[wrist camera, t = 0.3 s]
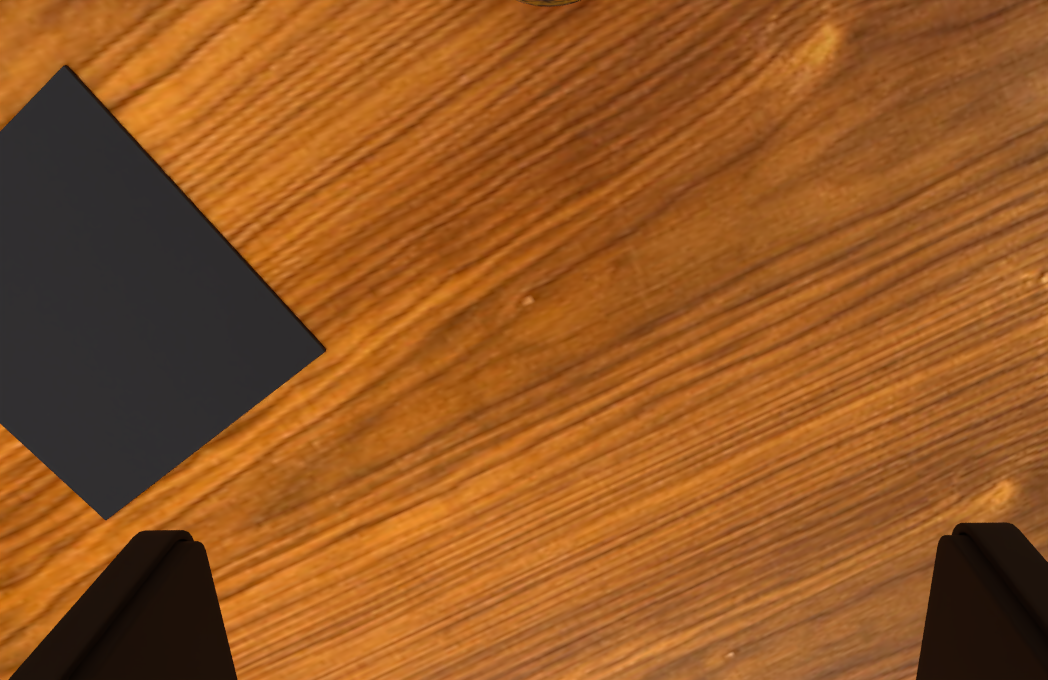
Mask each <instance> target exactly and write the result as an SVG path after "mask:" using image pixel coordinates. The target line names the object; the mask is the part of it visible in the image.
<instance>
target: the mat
mask: <svg viewBox="0 0 1048 680" xmlns="http://www.w3.org/2000/svg"><path fill="white" fill-rule="evenodd" d="M325 351H326V349H325V348H324V347H323V346H322V344H321V343H320V342H319V341H318V340H317V339H316V338H315V337H314V336H313V335H312V334H311V332H310V331H309V330H308V329H307V328H306V327H305V326H304V325H303V324H302V323H301V321H300V320H299V319H298V318H297V317H296V316H295V315H294V314H293V313H292V312H291V311H290V309H289V308H288V307H287V306H286V305H285V304H284V303H283V302H282V301H281V300H280V298H279V297H278V296H277V295H276V294H275V293H274V292H273V291H272V290H271V289H270V288H269V286H268V285H267V284H266V283H265V282H264V281H263V280H262V279H261V278H260V277H259V275H258V274H257V273H256V272H255V271H254V270H253V269H252V268H251V267H250V266H249V265H248V263H247V262H246V261H245V260H244V259H243V258H242V257H241V256H240V255H239V254H238V252H237V251H236V250H235V249H234V248H233V247H232V246H231V245H230V244H229V243H228V242H227V240H226V239H225V238H224V237H223V236H222V235H221V234H220V233H219V232H218V231H217V229H216V228H215V227H214V226H213V225H212V224H211V223H210V222H209V221H208V220H207V219H206V217H205V216H204V215H203V214H202V213H201V212H200V211H199V210H198V209H197V208H196V206H195V205H194V204H193V203H192V202H191V201H190V200H189V199H188V198H187V197H186V195H185V194H184V193H183V192H182V191H181V190H180V189H179V188H178V187H177V186H176V185H175V183H174V182H173V181H172V180H171V179H170V178H169V177H168V176H167V175H166V174H165V172H164V171H163V170H162V169H161V168H160V167H159V166H158V165H157V164H156V163H155V162H154V160H153V159H152V158H151V157H150V156H149V155H148V154H147V153H146V152H145V151H144V149H143V148H142V147H141V146H140V145H139V144H138V143H137V142H136V141H135V140H134V139H133V137H132V136H131V135H130V134H129V133H128V132H127V131H126V130H125V129H124V128H123V126H122V125H121V124H120V123H119V122H118V121H117V120H116V119H115V118H114V117H113V116H112V114H111V113H110V112H109V111H108V110H107V109H106V108H105V107H104V106H103V105H102V103H101V102H100V101H99V100H98V99H97V98H96V97H95V96H94V95H93V94H92V93H91V91H90V90H89V89H88V88H87V87H86V86H85V85H84V84H83V83H82V82H81V80H80V79H79V78H78V77H77V76H76V75H75V74H74V73H73V72H72V71H71V70H70V68H69V67H68V66H67V65H65V66H63V67H62V68H61V69H60V70H59V71H58V72H57V73H56V74H55V75H54V76H53V77H52V78H51V79H50V80H49V81H48V82H47V83H46V85H45V86H44V87H43V88H42V89H41V90H40V91H39V92H38V93H37V94H36V95H35V96H34V97H33V98H32V99H31V100H30V101H29V102H28V103H27V104H26V105H25V106H24V107H23V108H22V110H21V111H20V112H19V113H18V114H17V115H16V116H15V117H14V118H13V119H12V120H11V121H10V122H9V123H8V124H7V125H6V126H5V127H4V128H3V129H2V130H1V131H0V424H1V425H3V426H4V427H5V428H6V429H7V430H8V431H9V432H10V433H11V434H12V435H13V436H15V437H16V438H17V439H18V440H19V441H20V442H21V443H22V444H23V445H24V446H25V447H26V448H28V449H29V450H30V451H31V452H32V453H33V454H34V455H35V456H36V457H37V458H38V459H40V460H41V461H42V462H43V463H44V464H45V465H46V466H47V467H48V468H49V469H50V470H51V471H53V472H54V473H55V474H56V475H57V476H58V477H59V478H60V479H61V480H62V481H63V482H64V483H66V484H67V485H68V486H69V487H70V488H71V489H72V490H73V491H74V492H75V493H76V494H78V495H79V496H80V497H81V498H82V499H83V500H84V501H85V502H86V503H87V504H88V505H89V506H91V507H92V508H93V509H94V510H95V511H96V512H97V513H98V514H99V515H100V516H101V517H102V518H104V519H105V520H107V519H109V518H110V517H111V516H112V515H114V514H115V513H116V512H118V511H119V510H120V509H121V508H123V507H124V506H125V505H127V504H128V503H129V502H131V501H132V500H133V499H134V498H136V497H137V496H138V495H140V494H141V493H142V492H144V491H145V490H146V489H147V488H149V487H150V486H151V485H153V484H154V483H155V482H157V481H158V480H159V479H160V478H162V477H163V476H164V475H166V474H167V473H168V472H170V471H171V470H172V469H173V468H175V467H176V466H177V465H179V464H180V463H181V462H182V461H184V460H185V459H186V458H188V457H189V456H190V455H192V454H193V453H194V452H195V451H197V450H198V449H199V448H201V447H202V446H203V445H205V444H206V443H207V442H208V441H210V440H211V439H212V438H214V437H215V436H216V435H218V434H219V433H220V432H221V431H223V430H224V429H225V428H227V427H228V426H229V425H230V424H232V423H233V422H234V421H236V420H237V419H238V418H240V417H241V416H242V415H243V414H245V413H246V412H247V411H249V410H250V409H251V408H253V407H254V406H255V405H256V404H258V403H259V402H260V401H262V400H263V399H264V398H266V397H267V396H268V395H269V394H271V393H272V392H273V391H275V390H276V389H277V388H279V387H280V386H281V385H282V384H284V383H285V382H286V381H288V380H289V379H290V378H291V377H293V376H294V375H295V374H297V373H298V372H299V371H301V370H302V369H303V368H304V367H306V366H307V365H308V364H310V363H311V362H312V361H314V360H315V359H316V358H317V357H319V356H320V355H321V354H323V353H324V352H325Z"/></svg>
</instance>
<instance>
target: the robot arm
mask: <svg viewBox="0 0 1048 680" xmlns="http://www.w3.org/2000/svg"><path fill="white" fill-rule="evenodd" d="M9 680H237V676H236V672H235V668H234V664H233V660H232V655H231V651H230V647H229V643H228V639H227V635H226V631H225V627H224V623H223V619H222V615H221V610H220V606H219V602H218V598H217V594H216V590H215V586H214V582H213V578H212V574H211V570H210V566H209V561H208V557H207V553H206V550H205V547H204V545H203V544H202V543H201V542H198V541H194V540H193V538H192V536H191V535H190V534H189V532H187V531H184V530H155V531H142V532H139V533H138V534H136V535H135V536H134V537H133V538H132V539H131V540H130V542H129V543H128V544H127V545H126V546H125V547H124V548H123V550H122V551H121V552H120V553H119V554H118V555H117V556H116V558H115V559H114V560H113V561H112V562H111V563H110V564H109V565H108V567H107V568H106V569H105V570H104V571H103V572H102V573H101V575H100V576H99V577H98V578H97V579H96V580H95V581H94V583H93V584H92V585H91V586H90V587H89V588H88V589H87V591H86V592H85V593H84V594H83V595H82V596H81V597H80V599H79V600H78V601H77V602H76V603H75V604H74V605H73V607H72V608H71V609H70V610H69V611H68V612H67V613H66V615H65V616H64V617H63V618H62V619H61V620H60V621H59V623H58V624H57V625H56V626H55V627H54V628H53V629H52V631H51V632H50V633H49V634H48V635H47V636H46V637H45V639H44V640H43V641H42V642H41V643H40V644H39V645H38V647H37V648H36V649H35V650H34V651H33V652H32V653H31V655H30V656H29V657H28V658H27V659H26V660H25V661H24V662H23V664H22V665H21V666H20V667H19V668H18V669H17V670H16V672H15V673H14V674H13V675H12V676H11V677H10V678H9ZM916 680H1048V562H1047V561H1046V560H1045V559H1044V558H1043V556H1042V555H1041V554H1040V553H1039V552H1038V551H1037V550H1036V548H1035V547H1034V546H1033V545H1032V544H1031V543H1030V542H1029V540H1028V539H1027V538H1026V537H1025V536H1024V535H1023V534H1022V532H1021V531H1020V530H1019V529H1018V528H1017V527H1015V526H1014V525H1013V524H1011V523H960V524H958V525H956V527H955V528H954V530H953V532H952V535H944V536H942V537H941V538H940V540H939V543H938V546H937V553H936V559H935V565H934V571H933V577H932V584H931V590H930V596H929V602H928V609H927V615H926V621H925V627H924V633H923V640H922V646H921V652H920V658H919V665H918V671H917V677H916Z"/></svg>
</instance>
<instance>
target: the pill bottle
mask: <svg viewBox="0 0 1048 680" xmlns="http://www.w3.org/2000/svg"><path fill="white" fill-rule="evenodd" d="M517 1H519V2H522V3H526V4H530V5H535V6H547V7H551V6H561V5H567V4H571V3H575V2H578V1H580V0H517Z"/></svg>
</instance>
